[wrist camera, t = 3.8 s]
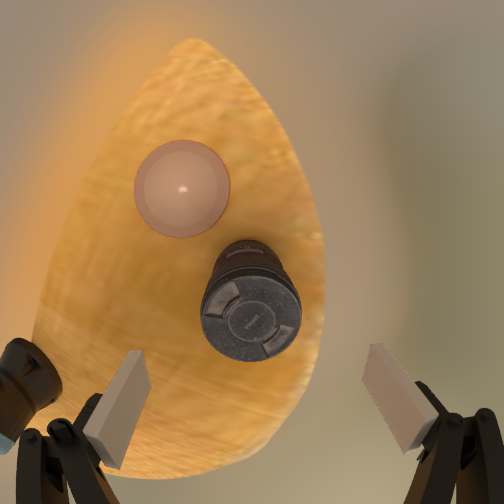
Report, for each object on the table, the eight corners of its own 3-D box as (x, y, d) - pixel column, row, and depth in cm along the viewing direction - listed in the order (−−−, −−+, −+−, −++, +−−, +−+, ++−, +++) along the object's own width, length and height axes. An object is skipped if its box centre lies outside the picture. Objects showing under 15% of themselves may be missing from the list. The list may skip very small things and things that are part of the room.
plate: (138, 238, 33) (136, 239, 32) (135, 145, 30) (133, 144, 30) (230, 236, 34) (230, 237, 33) (229, 138, 31) (229, 137, 30)
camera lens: (202, 275, 35) (179, 334, 20) (238, 222, 33) (236, 249, 19) (255, 308, 36) (264, 379, 21) (291, 258, 35) (326, 307, 20)
